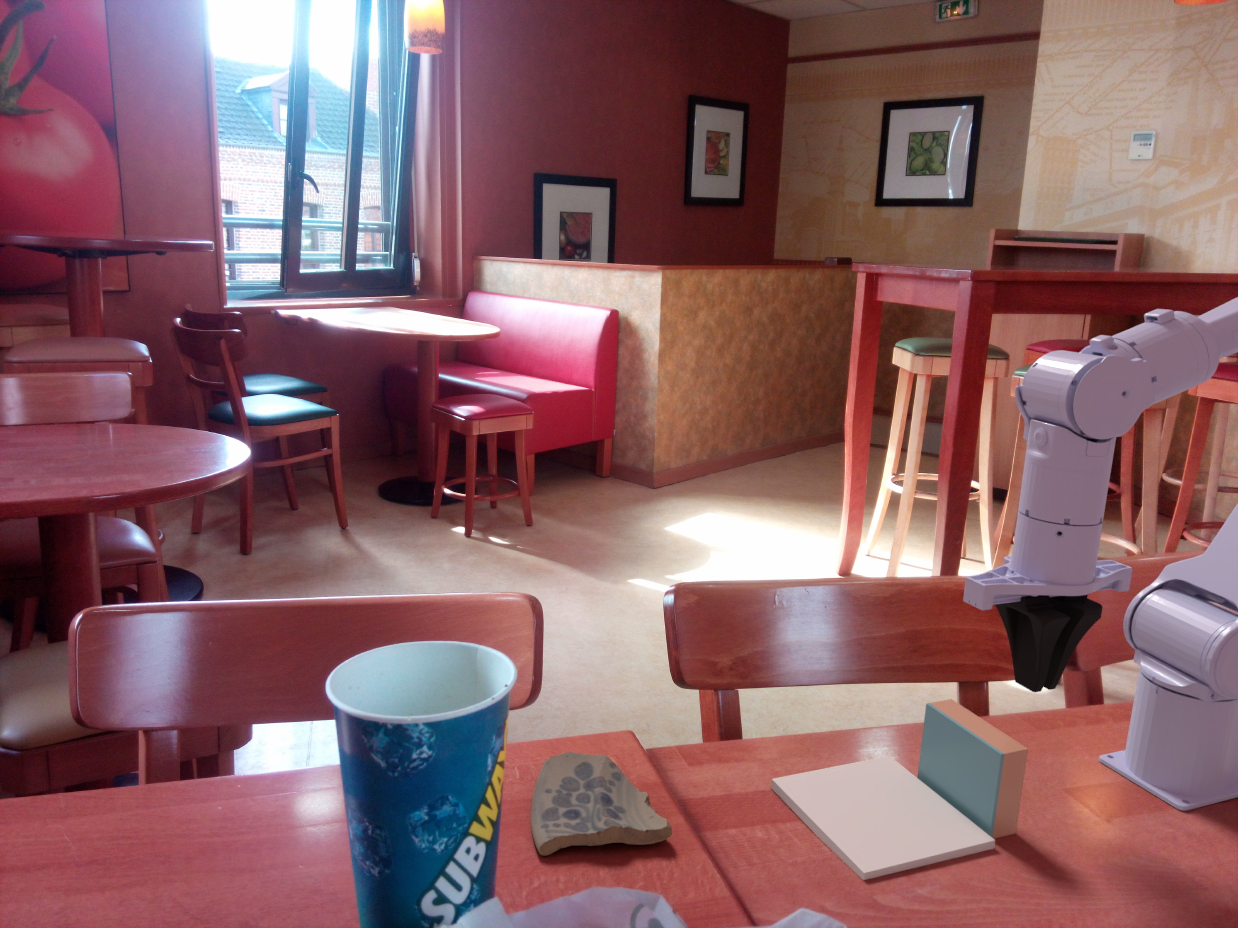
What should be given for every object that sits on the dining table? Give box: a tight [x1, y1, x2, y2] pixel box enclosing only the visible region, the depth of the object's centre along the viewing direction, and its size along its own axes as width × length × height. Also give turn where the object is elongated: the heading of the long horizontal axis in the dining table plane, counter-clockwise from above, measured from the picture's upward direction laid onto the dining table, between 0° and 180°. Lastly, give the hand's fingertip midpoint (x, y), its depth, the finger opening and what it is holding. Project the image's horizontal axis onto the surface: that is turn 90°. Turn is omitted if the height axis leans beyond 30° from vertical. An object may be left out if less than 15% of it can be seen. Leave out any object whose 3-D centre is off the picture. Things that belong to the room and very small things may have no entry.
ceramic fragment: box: [530, 751, 673, 857], centre depth 68 cm, size 11×3×10 cm
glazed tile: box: [916, 698, 1029, 840], centre depth 70 cm, size 2×8×7 cm, turn 21°
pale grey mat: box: [770, 755, 996, 881], centre depth 69 cm, size 11×12×1 cm
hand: (1035, 684), depth 71 cm, fingers closed
